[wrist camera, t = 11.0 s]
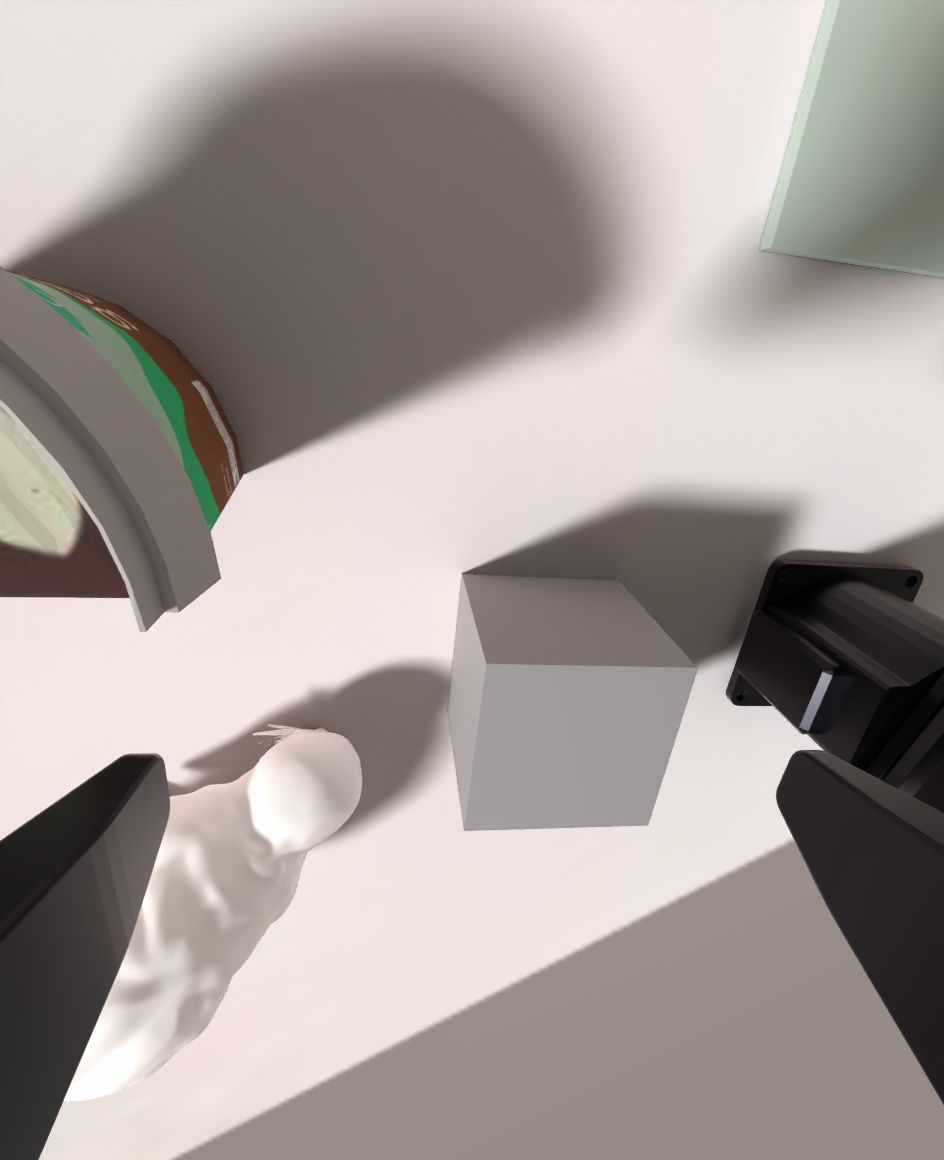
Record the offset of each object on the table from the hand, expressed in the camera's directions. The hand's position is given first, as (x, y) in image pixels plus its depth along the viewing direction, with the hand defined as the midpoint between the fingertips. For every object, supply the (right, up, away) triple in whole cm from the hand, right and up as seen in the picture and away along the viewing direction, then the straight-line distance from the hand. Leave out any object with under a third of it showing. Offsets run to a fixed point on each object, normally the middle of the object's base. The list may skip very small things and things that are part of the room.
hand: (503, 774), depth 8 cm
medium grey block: (+2, 0, +14) cm, 14 cm away
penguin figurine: (-10, -6, +15) cm, 19 cm away
